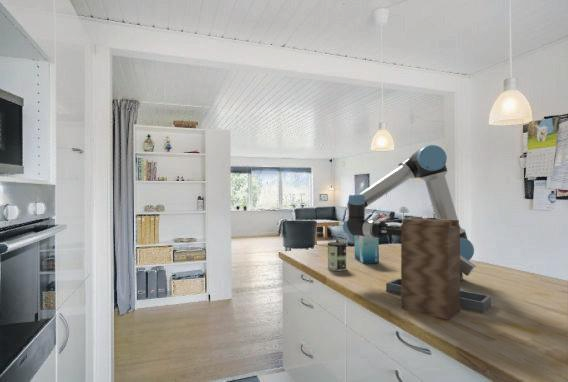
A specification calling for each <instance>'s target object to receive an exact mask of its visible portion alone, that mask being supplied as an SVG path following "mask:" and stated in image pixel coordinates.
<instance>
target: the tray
mask: <svg viewBox="0 0 568 382" xmlns="http://www.w3.org/2000/svg"><path fill="white" fill-rule="evenodd" d="M385 291H386V292H388V293H392V294H396V295H401V278H396V279H393V280H390V281H388V282H386V288H385ZM491 306H492V295H488V294H483V293H477V292H472V291H467V290H461V289H460V309H464V310H467V311H468V310H469V311H472V312H477V313H482V314H484V313H485V312H486V311H487V310H488V309H489V308H490V307H491Z"/></svg>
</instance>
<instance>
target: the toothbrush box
mask: <svg viewBox="0 0 568 382" xmlns="http://www.w3.org/2000/svg"><path fill="white" fill-rule="evenodd" d="M353 236H354V259H355V260H357V261H359V262H360V263H362V264H380V247H379V243H380V242H379V239H380V238H376V237H370V238H368V236H356V235H353Z"/></svg>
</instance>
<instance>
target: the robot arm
mask: <svg viewBox="0 0 568 382" xmlns="http://www.w3.org/2000/svg"><path fill="white" fill-rule="evenodd" d="M447 157H448V156H447V154H446V151H445V150H444V149H443V147H440V146H439V145H435V144H429V145H425V146H423V147H421V148H420V149H418V150H416V151H415V152H414V153H413V154H411V156H409V157H408V158H407V159H406V160H404V161H403V162H401V165H400V166H399V167H397V168H396V169H394V170H393V171H391V172H390V173H389V174H387V175H385V176H384V177H383V178H381V179H379V180H378V181H377V182H375V183H373V184H372V185H370V186H369V187H367V188H366V189H364V190H363V191H361V192H360V193H359V194H352V193H350V194H349V195H348V200H347V204H346V206H347V209H348V218H346V219H345V220H344V221H343V224H342V230H343V231H344V233H345V234H346V235H352V236H354V235H356V236H368V238H370V237H376V238H379V239H383V238H385V236H396V237H398V236H399V237H401V229H400V227H401V226H396V225H395V226H394V225H387V224H386V222H385V221H382V220H373V219H371V220H369V219H366V217H365V214H366V213H365V212H366V208H367V207H368V206H370V205H372V204H373V203H374V202H376V201H377V200H379V199H381V198H383V196H385V195H387V194H388V193H390V192H392V190H395V189H397V188H398V187H399V186H401V185H402V184H404V183H405V182H406V181H408V180H410V179H415V178H417V177H418V176H419V177H420V179H421V180H423V181H424V183H425V186H426V188H427V192H428V196H429V200H430V203H431V207H432V209H433V213H434V217H435V219H447V220H459V219H458V215H457V212H456V209H455V206H454V202H453V198H452V195H451V191H450V189H449V188H450V187H449V185H448V182H447V178H446V174H447V173H448V168H447V165H446V164H447V159H448V158H447ZM459 226H460V255H461V256H462V257H464V258H465V259H467V260H468V261H470V260H471V259H472V258H473V257H474V254H475V247H474V244H473V243H472V242H471V240H469V239H468V237H467V236H468V235H467V233H466V229H464V228H462V227H461V225H460V224H459ZM463 281H464V275H463V273H462V272H461V271H460V282H463Z"/></svg>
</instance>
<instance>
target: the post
mask: <svg viewBox="0 0 568 382" xmlns="http://www.w3.org/2000/svg"><path fill="white" fill-rule="evenodd" d="M402 224H403V225H402ZM402 224H401V225H400V227H401V236H400V239H401V240H400V245H401V246H400V247H401V248H400V249H401V250H400V251H401V252H400V253H401V255H400V256H401V260H400V267H401V268H400V277H401V278H400V279H401V297H400V298H401V299H400V305H401V307H400V309H403V310H408V311H412V312H416V313H419V314H423V315H427V316H432V317H435V318H439V319H443V320H447V321H449V320H450V319H452V318H453V317H454V316H456V315H457V314H458V313H459V312H460V311H461V308H460V290H461V281H460V227H461V225H460V220H459V219H458V220H447V219H436V218H426V217H425V218H423V217H411V218H402ZM459 225H460V226H459Z"/></svg>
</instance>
